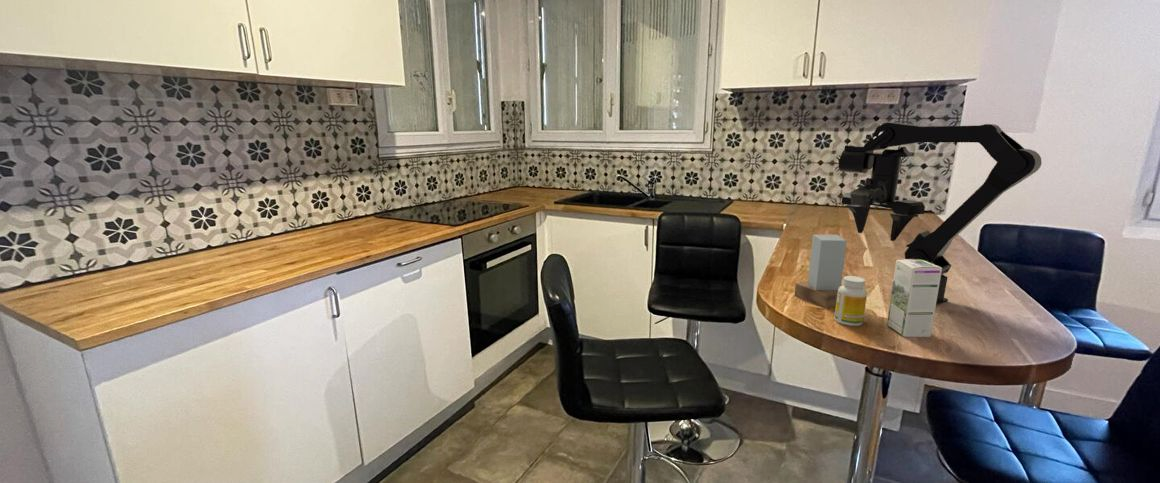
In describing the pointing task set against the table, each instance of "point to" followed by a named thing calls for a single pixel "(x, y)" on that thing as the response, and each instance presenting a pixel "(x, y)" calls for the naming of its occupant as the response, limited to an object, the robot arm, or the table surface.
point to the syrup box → (914, 297)
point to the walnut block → (816, 295)
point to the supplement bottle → (851, 301)
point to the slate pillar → (826, 262)
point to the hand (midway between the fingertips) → (875, 236)
